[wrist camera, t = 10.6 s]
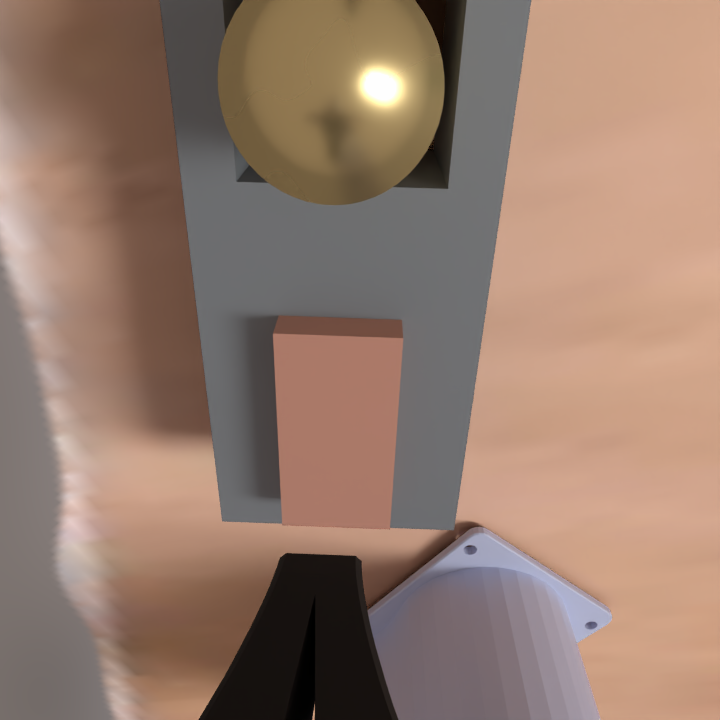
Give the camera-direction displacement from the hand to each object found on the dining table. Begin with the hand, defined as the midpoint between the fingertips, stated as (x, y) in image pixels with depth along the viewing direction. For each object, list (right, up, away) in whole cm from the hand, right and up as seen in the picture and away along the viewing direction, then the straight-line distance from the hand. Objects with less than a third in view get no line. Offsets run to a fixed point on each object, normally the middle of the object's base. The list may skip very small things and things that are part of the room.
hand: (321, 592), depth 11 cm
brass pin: (0, +12, +5) cm, 13 cm away
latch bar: (0, +3, +5) cm, 6 cm away
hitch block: (0, +8, +7) cm, 11 cm away
